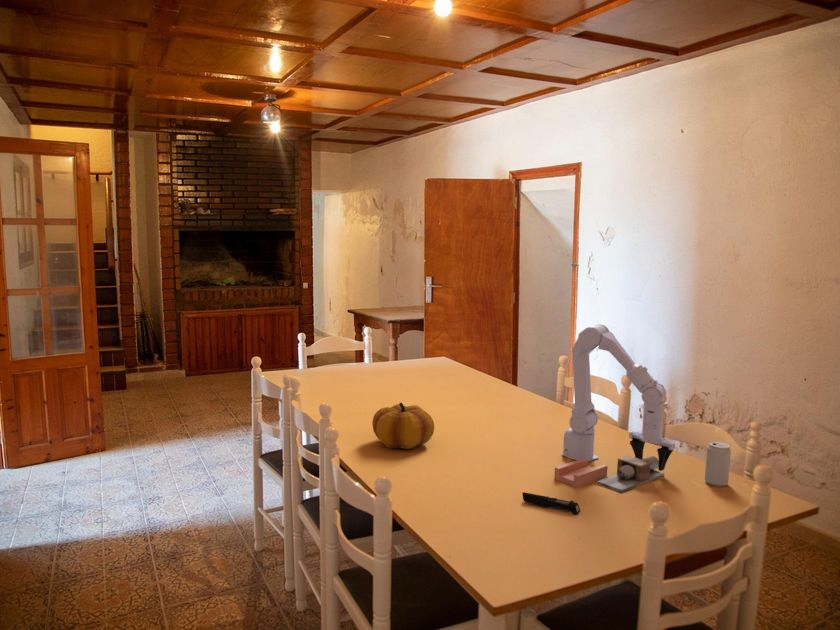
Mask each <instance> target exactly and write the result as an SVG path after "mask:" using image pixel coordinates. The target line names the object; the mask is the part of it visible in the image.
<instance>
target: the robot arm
mask: <svg viewBox="0 0 840 630" xmlns="http://www.w3.org/2000/svg"><path fill="white" fill-rule="evenodd" d="M596 348H597V349H598V350H602V351H606V352H609V354H611V355H612V357H613V358H615V360H616V361H617V362H618V363H619V364H620V365H621V366H622V367H623V368H624V369H625V370H626V374H625V375H626V377H627V379H628V380H629V381H630V383H632V385H633V386H634V387H635V388H636V390H637V391H638V392H639V393H640V394H641V400H642V401H643V411H642V414H643V415H642V428H641V429H642V430H641V432H638V431H629V433H628V434H629V435H628V439H631V440H630V441H629V444H630V446H631V448H632V451H633V453H634V457H635V458H638V459H644V458H643V457H644V448H645V444H646V443H647V444H651V445H654V446H658V447H659V448H657V449H656V451H657V455H658V456H657V457H658V460H659V465H658V468H657V469H658V471H659V472H661V471H664V470H665V467H666V465H667V462H668V459H669V457H670V456H671V454H672V453H673V452H674V450H676V442H674V441H671V440H668V439H666V438H663V422H664V400H665V398H666V397H667V391H666V388H665V386H664V385H663V384H661V383H660V382H659V381H658V380H657V379H656V380H655V379H654V377H653V376H652V375H651V374H650V373H649V372H648V370H649V369H648V367H647V366H643V365H642V364H641V363H640V364H638V363H636V362H635V361H634V360H633V359H632V357H631V356H630V355H629V353H628V352H627V351H626V349H624V347H623V346H622V344H621V343H620V342H619V340H618V339H617V338H616V335H615V334H614V333H613V332H612V331H610V330H609V328H608V327H607V326H606V325H604V324H595V325H593V326H588V327H585V328H584V329H583V330H582V331H580V332H579V333H578V337H577V339H576V341H575V343H574V344H573V346H572V349H571V350H572V351H571V353H572V371H573V375H572V376H573V393H574V394H573V395H574V404H573V406H572V409H571V415H570V418H569V426H570V427H569V428H567V429H566V430H565V432H564V435H563V445H562V449H563V450H562V451H563V452H562V453H561V456H563V457H567V458H568V459H572V460H573V461H576V460H579V459H582V458H586V459H588V463H589V462H592V461H594V460H597V459H599V458H600V457H599V456H598V455H596V454H595V453H594V451H595V450H594V449H595V433H596V432H595V426H596V425H597V424H598V420H599V419H598V418H599V416H598V415H597V412H596V410H595V404H594V403H593V402H592V388H591V384H592V383H591V370H590V369H591V365H590V354H591V353H592V352H593V351H594V350H595V349H596Z"/></svg>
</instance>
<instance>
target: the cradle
mask: <svg viewBox="0 0 840 630" xmlns="http://www.w3.org/2000/svg"><path fill="white" fill-rule="evenodd" d="M607 477H608V465H607V464H600V465H598V466H594V467H593V466H590V465H589V462H588V459H586V458H582V459H579V460H573V461H571V462H567V463H564V464H561V465H558V466H555V467H554V477H553V479H554V480H557V481H559V482H562V483H564V484H567V485H570V486H572V487H575V488H581V487H584V486H586V485H589V484H591V483H594V482H597V481H599V480H601V479H604V478H607Z"/></svg>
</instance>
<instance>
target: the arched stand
mask: <svg viewBox="0 0 840 630" xmlns="http://www.w3.org/2000/svg"><path fill="white" fill-rule="evenodd" d="M627 464H632V465H635V466H636V477H633V478H630V479H628V480H621V479H620V478H619V476H618V474H617V473H615V474H613V475H610V476H607V477H605V478H603V479H600V480H597V481H596V484H597V485H599V486H602V487H605V488H608V489H610V490H613V491H615V492H618V493H620V494H621V493H625V492H627V491H629V490H632V489H634V488H638V487H639V486H642V485H645V484H647V483H650V482H652V481H654V480H657V479H659V478H662V477H664V476H665V473H664V472H661V471H659V470H656V469H654V470H652V471H650V462H648V461H645V460H642V459H638V458H635V456H631V455H628V454H627V455H624V456H623V455H622V457H618V458H617V466H616V467H617V469H616V471H617V470H618V468H619V467H622V466H625V465H627Z"/></svg>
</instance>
